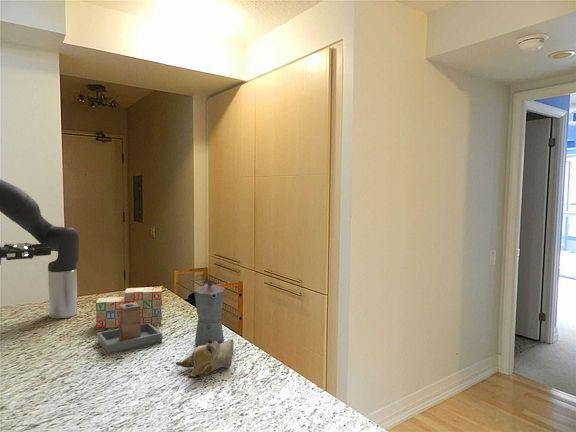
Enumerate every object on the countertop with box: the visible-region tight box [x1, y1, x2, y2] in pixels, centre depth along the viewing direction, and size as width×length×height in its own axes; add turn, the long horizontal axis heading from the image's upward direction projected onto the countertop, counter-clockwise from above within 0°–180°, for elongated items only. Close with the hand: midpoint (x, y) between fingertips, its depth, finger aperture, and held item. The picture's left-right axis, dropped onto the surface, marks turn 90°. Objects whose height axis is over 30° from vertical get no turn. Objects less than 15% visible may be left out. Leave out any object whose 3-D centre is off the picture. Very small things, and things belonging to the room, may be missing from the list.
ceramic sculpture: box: [175, 338, 235, 379], centre depth 104 cm, size 11×9×15 cm
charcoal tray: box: [96, 323, 163, 356], centre depth 122 cm, size 12×16×3 cm
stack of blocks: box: [95, 286, 163, 329], centre depth 138 cm, size 21×6×12 cm, turn 105°
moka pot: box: [194, 280, 226, 347], centre depth 123 cm, size 10×15×20 cm, turn 28°
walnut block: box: [118, 302, 141, 341], centre depth 121 cm, size 5×5×11 cm
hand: (48, 249), depth 114 cm, fingers open, 8 cm apart
